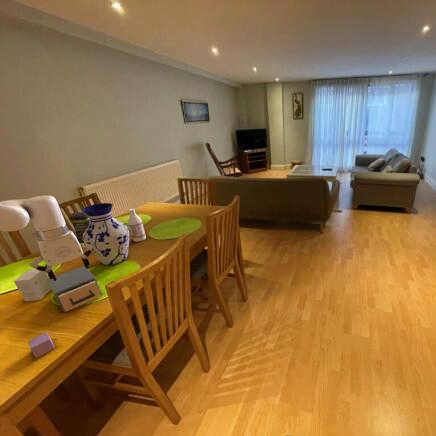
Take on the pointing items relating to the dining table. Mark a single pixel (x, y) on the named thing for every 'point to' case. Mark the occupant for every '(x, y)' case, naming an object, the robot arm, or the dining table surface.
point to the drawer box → (70, 281)
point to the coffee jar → (79, 224)
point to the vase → (106, 234)
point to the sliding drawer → (79, 295)
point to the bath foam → (136, 227)
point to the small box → (33, 285)
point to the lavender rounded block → (41, 345)
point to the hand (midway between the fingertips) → (71, 273)
